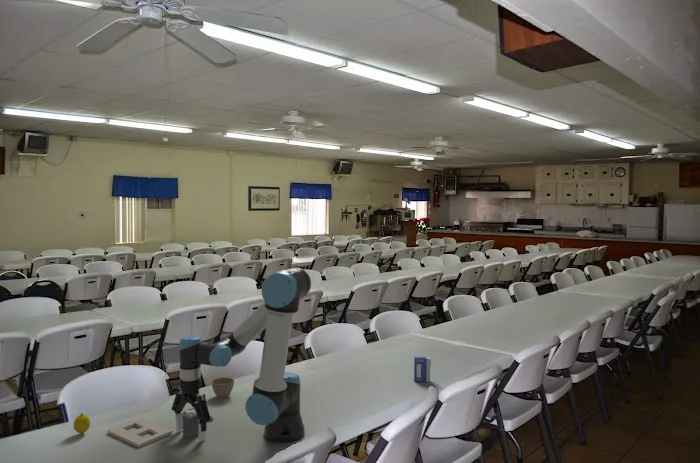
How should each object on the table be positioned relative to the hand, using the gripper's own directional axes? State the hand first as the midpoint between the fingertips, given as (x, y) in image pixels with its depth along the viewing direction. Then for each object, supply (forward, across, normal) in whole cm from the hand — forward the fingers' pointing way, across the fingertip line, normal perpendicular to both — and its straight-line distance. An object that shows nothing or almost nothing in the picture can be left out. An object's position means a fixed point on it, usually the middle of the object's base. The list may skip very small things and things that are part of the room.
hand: (190, 434), depth 195 cm
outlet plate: (0, +17, +10) cm, 20 cm away
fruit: (+1, +34, +23) cm, 41 cm away
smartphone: (+1, +12, -13) cm, 18 cm away
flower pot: (+1, +21, -34) cm, 40 cm away
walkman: (+1, -42, -106) cm, 114 cm away
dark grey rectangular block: (+1, 0, 0) cm, 1 cm away
